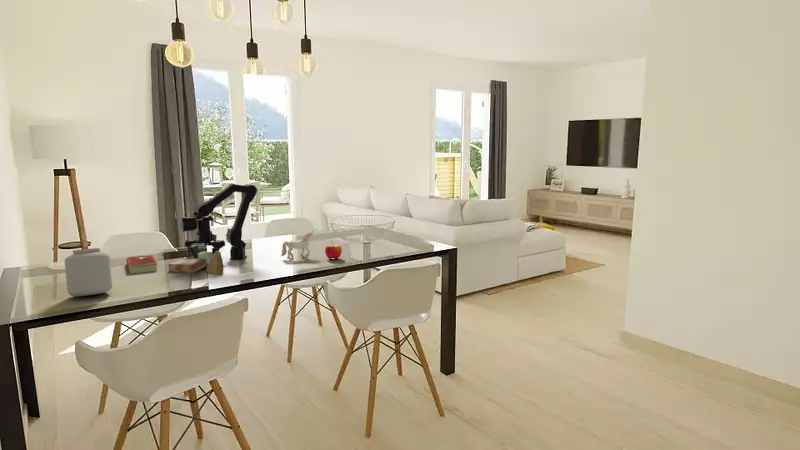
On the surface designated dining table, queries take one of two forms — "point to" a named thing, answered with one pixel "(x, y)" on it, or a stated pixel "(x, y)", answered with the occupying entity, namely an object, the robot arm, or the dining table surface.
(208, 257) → the green cube
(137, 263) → the hardcover book
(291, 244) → the unicorn figurine
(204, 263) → the walnut block
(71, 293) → the jar
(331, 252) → the apple
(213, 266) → the brown tan chunky block
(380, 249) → the dining table surface
